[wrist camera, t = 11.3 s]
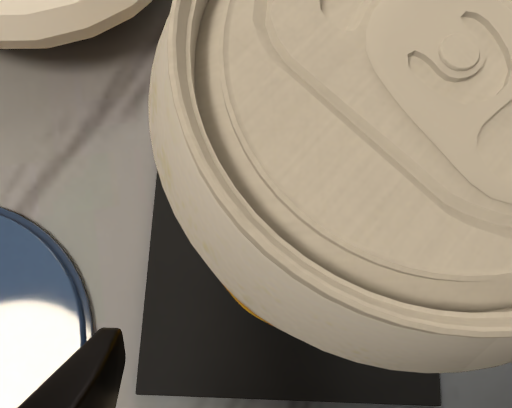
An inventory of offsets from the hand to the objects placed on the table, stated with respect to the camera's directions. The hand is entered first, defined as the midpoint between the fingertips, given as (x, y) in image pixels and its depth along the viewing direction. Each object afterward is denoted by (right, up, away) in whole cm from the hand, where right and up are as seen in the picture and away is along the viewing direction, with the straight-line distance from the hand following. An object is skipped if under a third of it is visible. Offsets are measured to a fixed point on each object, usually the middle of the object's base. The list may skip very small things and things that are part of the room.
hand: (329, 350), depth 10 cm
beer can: (0, +1, +9) cm, 9 cm away
